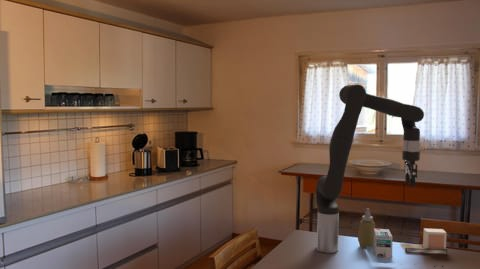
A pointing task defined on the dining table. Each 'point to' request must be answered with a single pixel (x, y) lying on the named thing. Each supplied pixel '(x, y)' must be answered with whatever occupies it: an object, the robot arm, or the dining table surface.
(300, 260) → the dining table surface
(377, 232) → the light bulb box
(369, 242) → the squeeze bottle
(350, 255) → the dining table surface
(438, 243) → the carton
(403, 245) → the brown panel with ledge
